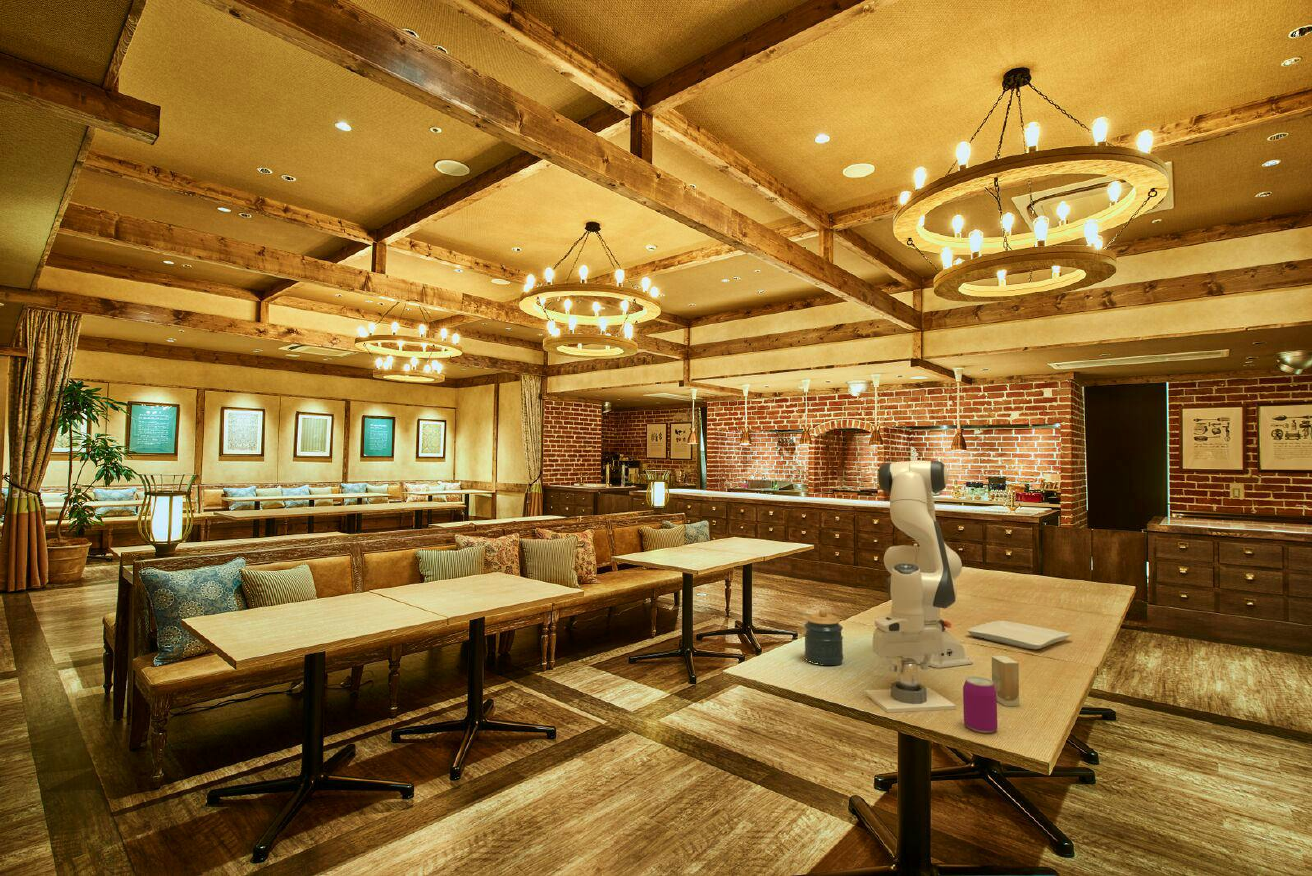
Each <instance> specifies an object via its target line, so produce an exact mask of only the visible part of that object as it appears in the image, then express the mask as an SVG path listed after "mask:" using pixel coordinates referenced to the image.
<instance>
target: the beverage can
mask: <svg viewBox="0 0 1312 876" xmlns="http://www.w3.org/2000/svg"><path fill="white" fill-rule="evenodd" d="M962 703H963V706H962V707H963V722H964V725H965V726H966V727H967V728H968V729H970V730H972V731H973V732H976V733H980V734H991V733H995V731H997V729H998V701H997V691H996V689H995V687H994V684H993V682H992V679H989V678H986V677H981V676H976V675H975V676H967V677H966V678H965V681H964V683H963V686H962Z"/></svg>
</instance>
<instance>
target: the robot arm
mask: <svg viewBox="0 0 1312 876" xmlns="http://www.w3.org/2000/svg"><path fill="white" fill-rule="evenodd" d="M876 480H877V484H878V486H879V488H880V490H881V491H882V492H884V493H887V494H889V495H890V498H889V515H890V519H891V522H892V523H893V525H894V526H895V527H896V528H897V529H899V530H900V531H901V532H903V533H904V534H905V535H907V536H908V537H910V538H912V539H914V541H916V543H917V544H918V545H919V546H914V545H906V544H904V545H902V544H901V545H893V546H890V547H888V548H887V549H886V551H885V553H884V556H883V563H884V564H883V565H884V566H885V569H886V570H887V571H888V573H890V574H891V575H889V577H888V578H887V596H888V597H889V598H890V599H891V603H892V604H891V606H890V607H891V608H890V613H888V614H886V615H883V616H881V617H878V618H876V619H874V626H875V627H876V628H875V629H874V631H873V634H872V635H873V636H872V652H874V654H875V655H876V656H877V657H880V658H885V660H886V661H887V663H888V664H889V670H890V672H892V673H894V672H898V665H897V664H895V663H894V662H893V661H894V657H901V658H911V659H914V660H915V661H916V662H917V665H920V669H921V670H923V671H926V670H929V667H931V668H937V669H941V668H943V669H944V668H950V667H958V666H965V665H971V664H973V660H972V658H971V657H969V656H968V655H966V654H965V648H964V645H963V643H962V642H961V641H959V639H957V637H955V636H953V634H951V633H950V632H948V631H947V630H946V628H947V629H951V627H952V623H951V622H950V621H946V620H945V621H944V620H943V619H941V609H947V608H949V607H951V606H953V604H955V602H956V600H957V596H958V595H957V594H958V593H957V587H956V586H957V585H956V583H955V581H954V580H956V579H957V578H958V577H959V576H960V575H961V572H962V568H963V564H962V560H961V557H960V556H959V554H957V552H956V551H954V550H953V549H952V548H951V547H949V546H948V545H947V544H946V543H945V539H944V538H943V533H942V529H941V527H940V524H939V522H938V521H937V519H936V508H935V500H934V495H935V494H938V493H939V492H942V491H944V490H945V489H946V488H947V484H948V482H949V471H948V469H947V468H946V465H945V464H944V463H943V462H942V461H939V460H931V461H929V460H917V459H916V460H910V461H909V460H908V461H907V460H905V461H896V462H891V461H890V462H887V463H883V464H881V465H880V466H879V468H878V471H877V474H876Z"/></svg>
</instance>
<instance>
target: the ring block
mask: <svg viewBox="0 0 1312 876" xmlns="http://www.w3.org/2000/svg"><path fill="white" fill-rule="evenodd" d="M863 693H865V694H866V695H865V694H864V695H865V696H866V697H868V698H869V697H870V698H871V699H872V702H874V703H875V704H876V705H877V706H879V707H880V708H882V710H884V711H885V712H886V713H889V714H891V713H906V712H928V711H947V710H948V711H949V710H957V705H956V704H955V703H953V702H951V701H950V700H948V699H946V698H945V697H944V696H942V695H941V694H939V693H938V692H936V691H934V690H933V689H931V688H930V687H929V686H928V687H925V685H924V686H923V685H922V684H919V683H918V691H904V690H901V689H900V681H893V682H891V683H890V688H887V689H886V688H883V689H864V692H863ZM870 698H869V699H870ZM871 699H870V700H871Z"/></svg>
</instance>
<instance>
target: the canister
mask: <svg viewBox="0 0 1312 876" xmlns="http://www.w3.org/2000/svg"><path fill="white" fill-rule="evenodd" d="M806 621H807V622H805V624H804V625H803V627H804V628H805V632H804V634H803V635H804V657H805V658H806V659H807V660H808V661H811V662H813V663H818V664H823V665H836V666H839V665H838V664H840V663H841V664H842V663H843V662H842V661H843V660H844V653H843V650H844V648H843V647H844V646H843V639H844V637H843V635H842V630H843V629H844V628H843V625H841V624H840V623H841V620H840V618H838V617H837V616H836V615H833V614H831V613H828V612H827V610H826V609H825V608H821V609H820V610H819V611H818V612H817V613H811V615H809V616H807V617H806ZM806 659H805V660H806ZM808 661H807V662H808ZM841 664H840V665H841Z"/></svg>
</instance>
